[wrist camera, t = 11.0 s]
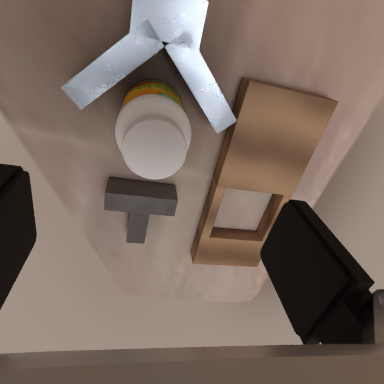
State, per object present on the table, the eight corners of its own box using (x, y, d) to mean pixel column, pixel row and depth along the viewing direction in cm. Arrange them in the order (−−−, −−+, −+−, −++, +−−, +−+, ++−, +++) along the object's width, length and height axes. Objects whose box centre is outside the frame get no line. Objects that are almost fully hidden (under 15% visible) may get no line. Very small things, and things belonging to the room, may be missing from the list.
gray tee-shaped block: (109, 177, 27) (105, 192, 24) (175, 185, 28) (177, 200, 26) (105, 229, 30) (101, 247, 28) (164, 233, 32) (166, 251, 29)
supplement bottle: (187, 86, 23) (208, 117, 15) (175, 142, 26) (187, 194, 18) (126, 71, 22) (113, 97, 14) (119, 132, 25) (106, 183, 16)
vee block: (69, -34, 18) (56, -45, 15) (254, 20, 21) (268, 19, 19) (71, 97, 22) (61, 106, 20) (224, 125, 26) (232, 136, 23)
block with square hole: (242, 77, 23) (249, 80, 22) (325, 96, 26) (338, 101, 24) (190, 252, 34) (192, 263, 33) (252, 255, 36) (257, 266, 35)
